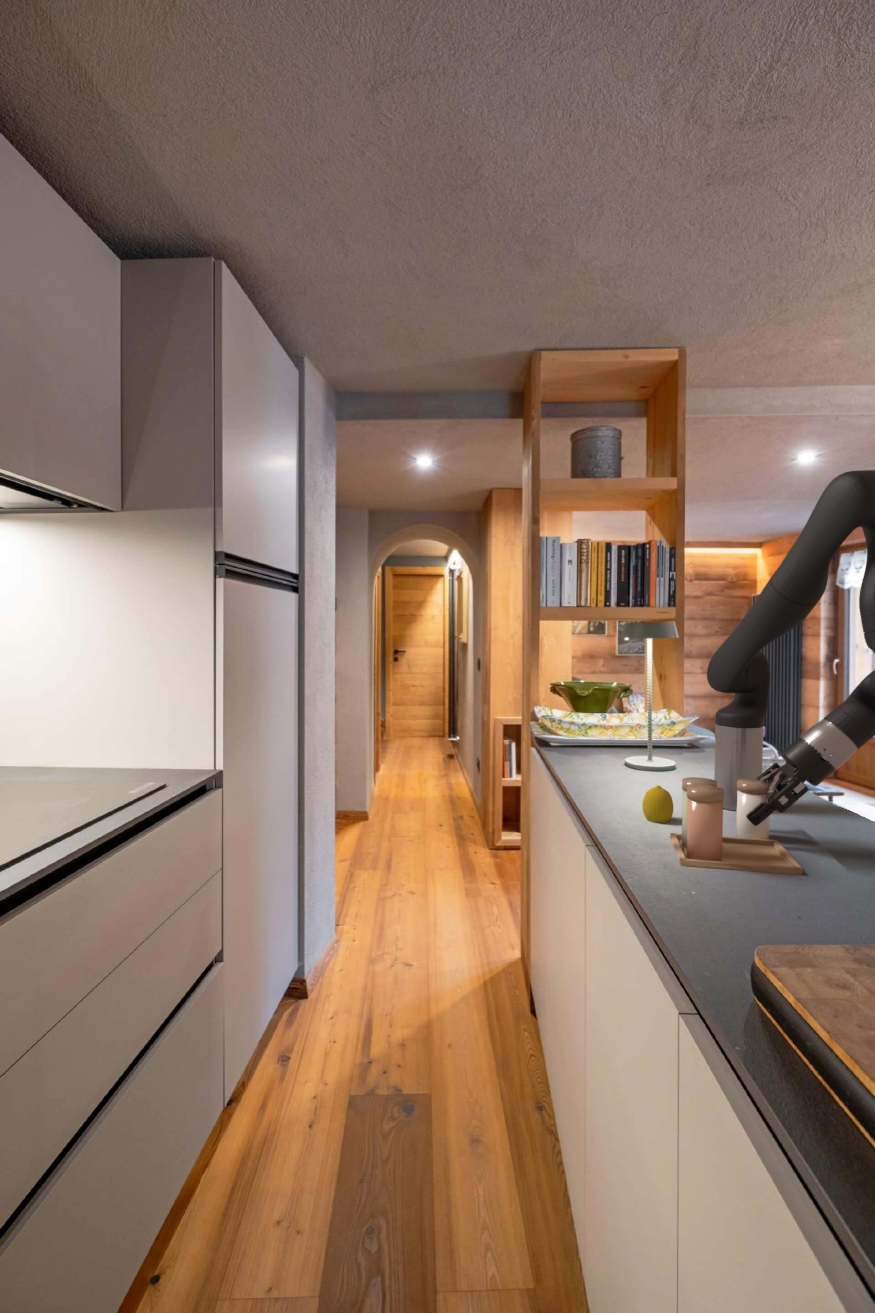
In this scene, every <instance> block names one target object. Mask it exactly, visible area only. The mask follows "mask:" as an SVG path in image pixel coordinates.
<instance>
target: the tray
mask: <svg viewBox="0 0 875 1313" xmlns="http://www.w3.org/2000/svg"><path fill="white" fill-rule="evenodd" d="M669 839H670V841H671V842H670V843H671V844H672V847H673V849H674V851H675V854H676V857H677V859H678V862H679V864H680V866H682V867H691V868H692V867H696V868H705V869H707V868H708V869H721V870H734V871H747V872H761V873H774V874H787V875H801V876H803V875H804V868H803V867H802V866H801V865H800V864H799V863H798V862H797V861H796V859H795V858H794V857H793V856H792V855H791V854H790V853H789V851H788V850H786V848H785V847H784V846H783V844H781V843H780V841H779V840H777V839H769V840H768V839H753V838H739V837H737V836H736V837H735V836H722V861H709V860H695V859H688V858H687V857H686V851H687V849H685V848H683V847H682V833H678V832H675V833H674V832H670V833H669Z"/></svg>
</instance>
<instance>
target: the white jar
mask: <svg viewBox="0 0 875 1313" xmlns="http://www.w3.org/2000/svg"><path fill="white" fill-rule="evenodd" d="M770 785H771V783H770V782H768V781H763V780H758V779H738V780H737V811H736V821H735V824H736V826H735V836H736V837H738V838H753V839H768V840H770V820H771V819H770V818H771V817H770V816H771V815H770V816H768V817H767V818H766V819H765V820H764V821H762V822H761V823H760V824H759V825H757V826H754V825H753V824H752V823H751V822H750V821H749V820H748V819H747V817H746V815H747V814H748V813H749V812H750V811H752V810H753V809H754V808H755V807H756V806H758V805H759V804H760V803H761V802H763V801H764V799H765V798H766V797H767V795H768V788H769V787H770ZM763 803H764V802H763Z"/></svg>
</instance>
